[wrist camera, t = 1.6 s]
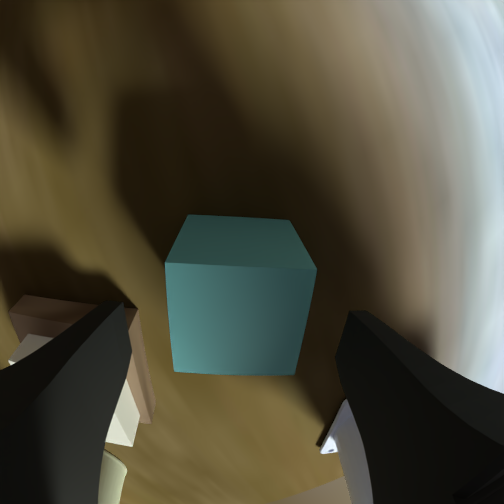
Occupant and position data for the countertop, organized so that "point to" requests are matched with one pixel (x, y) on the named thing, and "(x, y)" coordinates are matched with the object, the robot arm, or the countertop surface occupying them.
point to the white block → (126, 408)
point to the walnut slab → (67, 313)
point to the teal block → (238, 296)
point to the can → (111, 479)
